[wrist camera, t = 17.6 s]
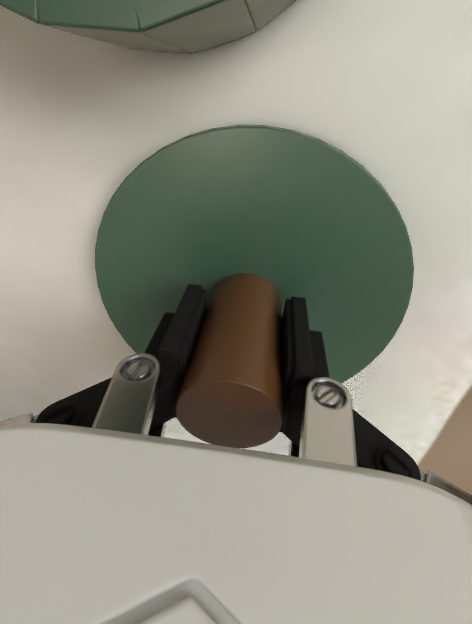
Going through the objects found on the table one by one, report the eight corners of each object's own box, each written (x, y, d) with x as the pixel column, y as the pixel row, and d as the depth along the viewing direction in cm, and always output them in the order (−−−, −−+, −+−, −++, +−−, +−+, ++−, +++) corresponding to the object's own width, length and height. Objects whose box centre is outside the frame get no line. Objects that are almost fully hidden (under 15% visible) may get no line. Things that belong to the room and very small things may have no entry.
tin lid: (351, 402, 19) (384, 541, 13) (127, 371, 19) (63, 491, 14) (470, 142, 10) (701, 208, 5) (74, 106, 11) (-142, 125, 5)
